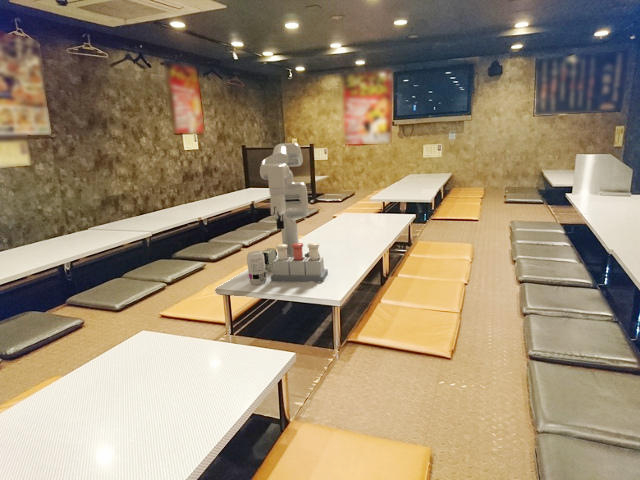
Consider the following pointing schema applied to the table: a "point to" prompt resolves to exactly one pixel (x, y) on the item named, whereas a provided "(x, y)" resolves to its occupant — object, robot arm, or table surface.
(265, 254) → the pneumatic valve
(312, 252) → the ivory plunger
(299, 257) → the red rounded knob
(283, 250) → the ivory plunger
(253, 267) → the supplement can
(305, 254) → the electrical switch
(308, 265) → the grey compartment rack
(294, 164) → the robot arm
